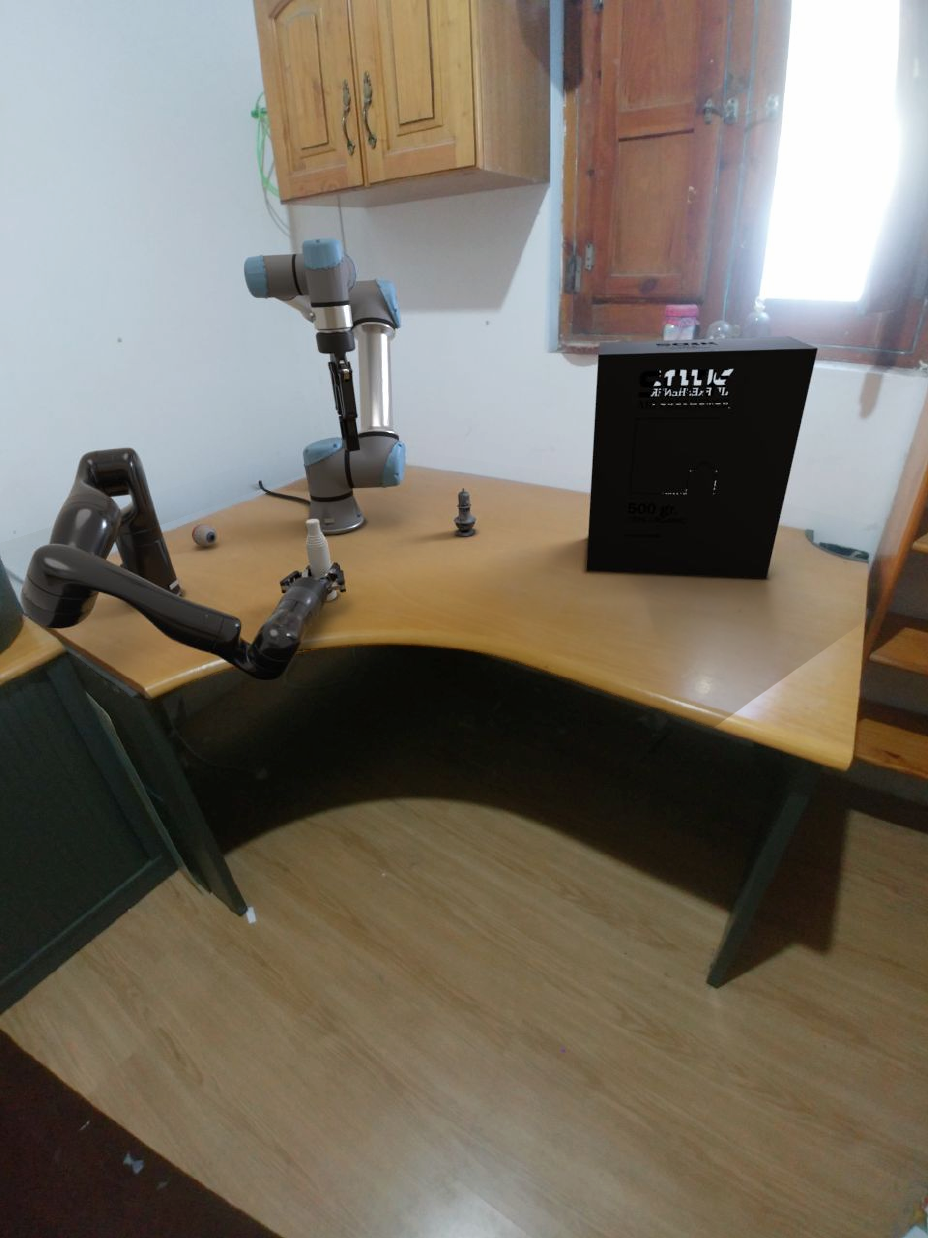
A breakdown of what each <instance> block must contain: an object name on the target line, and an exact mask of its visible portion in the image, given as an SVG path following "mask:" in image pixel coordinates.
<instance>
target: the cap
mask: <svg viewBox="0 0 928 1238" xmlns="http://www.w3.org/2000/svg"><path fill="white" fill-rule="evenodd" d="M358 438H359V437H358ZM359 445H360V441H359ZM342 447H343V449H345V450H347V447H346V440H345V437H344V438H342Z"/></svg>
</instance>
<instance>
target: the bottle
mask: <svg viewBox="0 0 928 1238" xmlns="http://www.w3.org/2000/svg"><path fill="white" fill-rule="evenodd" d="M305 525H306V529H307V535H306V541H305V548H306V553H307V558H308V563H309V564H308V565H310V569H311V574H312V577H316V576H319V575H321V574H322V573H323V572H328V571H329V570H330V568H331V567H332V561H331V555H330V554H331V553H330V549H329V544H328V543H329V542H328V540H327V538H326V537H325V536H326V535H324V534H322V532H321V530H320V525H319V520H318V519H310V520H309V519H307V520H306V521H305ZM333 584H334V583H333ZM337 596H338V593H337V590H333V591H332V593H331V594H329V595H328V596H327V599H326V602H330V601H332V600H334V599H336V598H337Z"/></svg>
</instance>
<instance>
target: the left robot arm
mask: <svg viewBox="0 0 928 1238" xmlns="http://www.w3.org/2000/svg"><path fill="white" fill-rule="evenodd" d="M146 475H147V474H146V471H145V469H144V464H143V462H142V460H141V457H140V456H139V453H138V452H137V451H136V450H135V448H132V447H127V446H126V447H115V448H105V449H97V450H92V451H88V452H86V453H84V454H82V456H81V458H80V459H79V462H78V465H77V469H76V473H75V477H74V481H73V484H72V486H71V488H70V490H69V493H68V495H67V498H66V499H65V501H64V503H63V504H62V506H61V508H60V510H59V512H58V513H57V516H56V518H55V520H54V524H53V527H52V530H51V534H50V538H49V542H48V544H44V545H42V546H39V547H38V548H36V550H35V551H34V552H33V554H32V556H31V558H30V561H29V564H28V567H27V571H26V573H25V577H24V580H23V582H22V583H23V584H22V588H21V591H20V603H21V606H22V609H23V611H24V613H25V614H26V615H27V616H28V618H29V619H31V621H33V622H34V623H36V624H38V625H40V626H42V627H45V628H47V629H53V630H55V629H56V630H58V629H62V630H63V629H67V628H68V629H69V628H72V627H75V626H77V625H79V624H81V623H82V622H85V620H86V619H87V618H88V617H89V616H90V615H91V613H92V612H93V610H94V608H95V605H96V602H97V599H98V596H99V594H100V593H102V594H105V595H108V596H111V597H113V598H116V599H118V600H120V601H122V602H123V603H126V604H128V605H129V606H131V608H133V609H135V610H136V611H137V612H139V614H140V615H142V616H143V617H144V618H145V619H147V621H148V622H150V623H151V624H152V625H153V626H154V627H155V628H156V629H157V630H158V631H159V632H160V633H161V634H163V635H164V636H165V637H167V638H168V639H169V640H172V641H174V642H175V643H177V644H180V645H181V646H185V647H186V648H187V647H188V648H191V649H194V650H197V651H200V652H204V653H207V654H209V655H214V656H217V657H219V658H221V660H223V661H225V662H226V663H228V664H230V665H231V666H233V667H235V668H236V669H238V670H240V671H242V672H243V673H245V674H246V675H248V676H250V677H252V678H254V679H258V680H262V681H272V680H273V681H274V680H276V679H278V678H280V677H281V676H282V675H283V674H284V672H285V671H286V669H287V668H288V665H289V664H290V663H291V661H292V660H293V657H294V656H295V654H296V653H297V651H298V650H299V648H300V646H301V643H302V642H303V639H304V638H305V636H306V635H307V633H308V631H309V629H310V628H311V626H312V625H313V624H314V623H315V621H316V620H317V618H318V616H319V615H320V612H321V611H322V610H323V608H324V606H325V605H326V602H327V601H326V599H327V596H328V595H329V594H331V593H332V591H333V590H336V591H339V593H341V594H343V593H346V592H347V588H346V579H345V572H344V570H343V569H341V565H340V564H339V562H338V561H336V562H333V563H332V564H331V566H332V567H331V568H330V570H329V571H328V572H323V573H322V574H321V575H319V576H316V577H312V574H311V569H310V564H308V565H307V566H306V567H305V568H304V569H302V570H301V571H299V570H294V571H292V572H291V573H290V574H288V575H287V576H285V577H283V579H281V580H280V581H279V585H280V591H281V594H283V595H282V596H281V598H280V599H279V601H278V604H277V606H276V608H275V609H274V610H273V612H272V613H271V615H270V616H269V617H268V618H267V619H266V620H265V621H264V622H263V623H262V625H261V626H260V628H259V629H258V631H257V633H256V635H255V636H254V638H253V640H252V642H251V643H250V642H249V641H247V640H245V639H244V638H243V637H242V636H241V633H242V627H243V626H242V621H241V619H240V618H238V617H237V616H235V615H232V614H230V613H227V612H224V611H221V610H217V609H215V608H212V607H209V606H207V605H203V604H200V603H197V602H195V601H193V600H189V599H186V598H185V597H183V596H182V595H183V592H182V591H183V590H182V588H181V587H180V582H181V581H180V577H178V578H177V574H176V571H175V567H174V565H173V561H172V559H171V555H170V552H169V549H168V546H167V543H166V540H165V537H164V533H163V531H162V528H161V525H160V521H159V519H158V515H157V512H156V508H155V505H154V501H153V499H152V495H151V491H150V487H149V484H148V480H147V476H146ZM123 496H130V498H131V502H129V503H127V505H125V506H124V507H121V508H120V507H119V504H118V503H117V502H116V501H115V500H114V499H113V498H115V497H123ZM114 545H115V546H116V548H117V551H118V554H119V557H120V560H121V563H120V564H119V565H117V564H116V563H113V562H111V561H110V560H107V559H108V557H109V555H110V553H111V551H112V549H113V547H114ZM333 583H334V584H333Z"/></svg>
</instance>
